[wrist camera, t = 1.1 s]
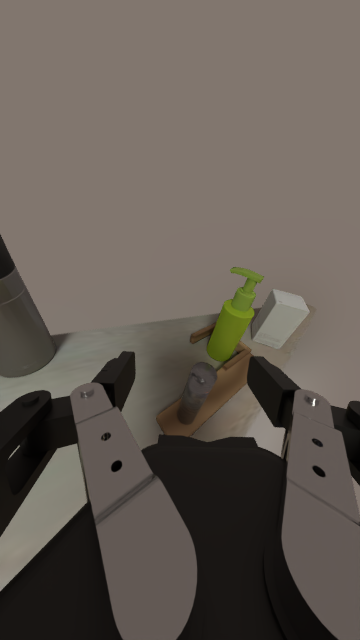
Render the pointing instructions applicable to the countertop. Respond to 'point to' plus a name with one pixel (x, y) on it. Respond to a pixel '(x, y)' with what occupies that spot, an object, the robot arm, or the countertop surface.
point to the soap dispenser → (234, 317)
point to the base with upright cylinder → (205, 390)
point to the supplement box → (278, 318)
